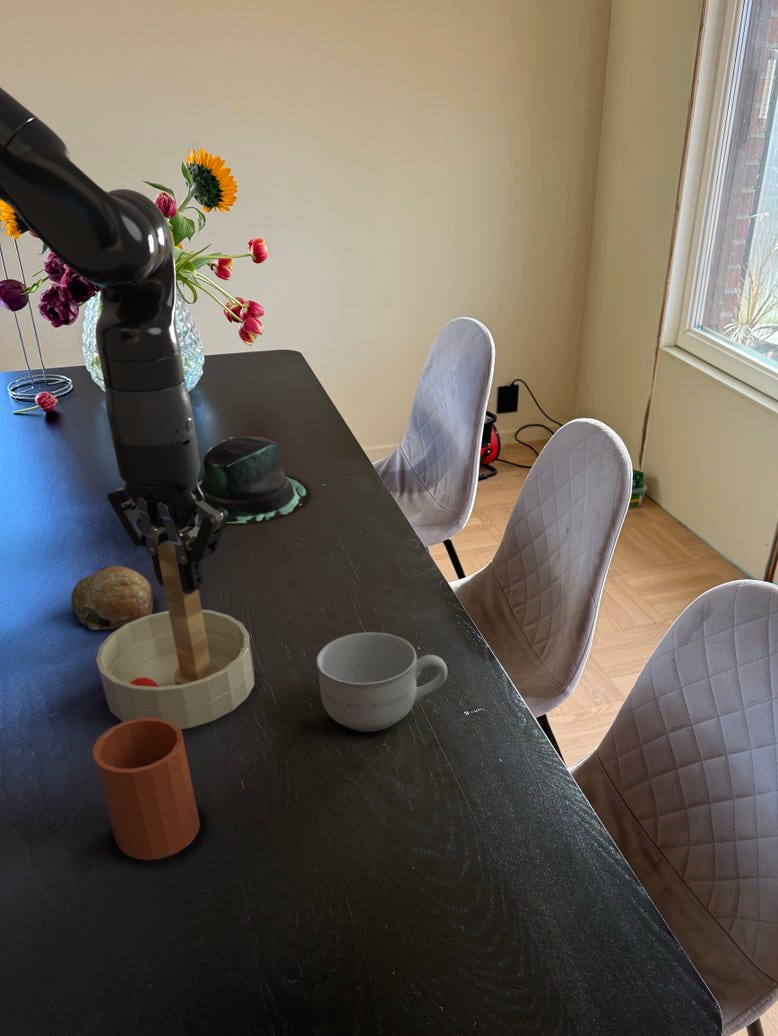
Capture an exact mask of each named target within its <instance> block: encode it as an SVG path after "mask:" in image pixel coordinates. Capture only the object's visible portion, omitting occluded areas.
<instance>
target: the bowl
mask: <svg viewBox="0 0 778 1036" xmlns="http://www.w3.org/2000/svg"><path fill="white" fill-rule="evenodd" d="M202 615H203V621H204V627H205V633H206V639H207V645H208V651H209V657H210V662H212V663H214V664H215V665H216V666H217V667H218V670H219V672H217V673H215V674H212V675H210V676H208V677H206V678H204V679H201V680H197V681H193V682H190V683H186V684H182V685H176V684H175V679H174V673H175V671H176V670H177V669H178V668H179V663H178V657H177V652H176V647H175V641H174V636H173V631H172V625H171V620H170V615H169V610H165V611H161V612H156V613H152V614H151V615H147V616H144V617H142V618H139V619H137V620H135V621H132V622H130V623H127V624H125V625H124V626H122V627H121V628H117V629H115V631H113V632H112V633H110V634H108V636H107V637H106V638H105V640H104V641H103V642H102V643H101V644H100V646H98V650H97V655H96V659H95V662H96V666H97V670H98V674H99V678H100V682H101V686H102V690H103V694H104V698H105V701H106V704H107V707H108V709H109V712H110V713H111V714H113V715H114V716H115V717H116V718H117V719H118V720H120V722H121V723H123V722H125V721H128V720H133V719H138V718H143V717H144V718H145V717H149V718H162V719H165V720H168V721H171V722H173V723H175V724H176V725H177V726H178V727H179V728H180V729H181V730H185V729H191V728H195V727H198V726H201V725H205V724H208V723H211V722H214V721H216V720H217V719H219V718H222V717H223V716H225V715H227V714H229V713H231V712H233V711H235V710H236V708H238V707H239V706H240V705H242V704H243V702H245V701H246V700H247V698H248V697H249V695H250V693H251V692H252V690H253V688H254V686H255V667H254V659H253V651H252V645H251V638H250V637H251V636H250V633H249V632H248V630H247V629H246V627H245V625H244V624H243V623H242V622H241V621H239V620H237V619H235V618H234V617H232V616H231V615H228V614H226V613H223V612H219V611H216V610H215V611H214V610H211V609H202ZM137 678H149V679H151V680H153V681H154V682H156V684H157V685H158V687H150V686H138V685H133V684H130V682H132V681H133V680H135V679H137Z"/></svg>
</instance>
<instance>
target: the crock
mask: <svg viewBox="0 0 778 1036" xmlns="http://www.w3.org/2000/svg"><path fill="white" fill-rule="evenodd" d="M92 760H93V764H94V767H95V771H96V775H97V778H98V781H99V785H100V789H101V793H102V797H103V801H104V803H105V807H106V811H107V814H108V818H109V822H110V825H111V828H112V833H113V837H114V840H115V844H116V846H117V848H118V849H119V850H120V851H121V852H122V853H123V854H124V855H126V856H128V857H130V858H133V859H136V860H142V861H153V860H159V859H160V860H161V859H164V858H168V857H170V856H172V855H174V854H177V853H179V852H181V851H182V850H184V849H185V848H186V847H188V846H189V845H190V844H191V843H192V842H193V841H194V839H195V838H196V836H198V835H197V834H198V832H199V831H200V830H199V829H200V827H201V821H200V816H199V815H200V814H199V811H198V806H197V800H196V794H195V791H194V785H193V780H192V775H191V770H190V764H189V761H188V760H189V759H188V755H187V750H186V745H185V740H184V736H183V730H182V729H180V728H179V727H178V726H177V725H176V724H175V723H173V722H171V721H168V720H165V719H162V718H149V717H145V718H144V717H143V718H138V719H133V720H128V721H125V722H120V723H118V724H116V725H114V726H112V727H110V728H109V729H107V730H106V731H104V732H103V733H102V734H101V735H100V736H98V738H97V739H96V741H95V742H94V744H93V746H92Z"/></svg>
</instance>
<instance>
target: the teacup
mask: <svg viewBox="0 0 778 1036" xmlns="http://www.w3.org/2000/svg"><path fill="white" fill-rule="evenodd" d="M315 660H316V661H315V662H316V663H315V665H316V668H317V671H318V684H319V691H320V697H321V702H322V705H323V708H324V710H325V712H326V713H327V715H329V717H330V718H331V719H332V720H333V721H335V722H336V723H338V724H339V725H341V726H344V727H346V728H348V729H350V730H354V731H358V732H363V733H364V732H367V733H369V732H370V733H371V732H378V731H382V730H385V729H388V728H390V727H392V726H393V725H395V724H396V723H398V722H400V721H401V720H403V719H404V718H405V717H406V716H407V715H408V714H409V713H410V711H412V709H413V706H414V703H418V702H420V701H421V700H422V699H423V697H425V696H427V695H429V694H431V693H433V692H435V691H436V690H438V689H439V688H441V687H442V686H443V685H444V684H445V682H446V680H447V676H448V667H447V665H446V662H445V660H444V659H442V658H441V657H439V656H437V655H434V654H426V655H424V656H421V657H419V658H418V657H417V652H416V649H415V648H414V647H413V645H412V644H411V643H410V642H409V641H408V640H406V639H405V638H402V637H400V636H397V635H394V634H390V633H385V632H376V631H375V632H374V631H367V632H357V633H352V634H347V635H344V636H340V637H338V638H336V639H334V640H332V641H330V642H329V643H327V644H325V645H324V647H322V648H321V650H319V652H318V654H317V655H316V659H315ZM426 667H435V668H436V669H437V671H438V674H437V676H436V677H435V678H433V679H432V680H430V681H429V682H427V683H426V684H423V685H419V686H417V679H419V677H420V675H421V672H422V671H423V669H424V668H426Z"/></svg>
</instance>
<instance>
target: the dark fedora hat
mask: <svg viewBox="0 0 778 1036" xmlns="http://www.w3.org/2000/svg"><path fill="white" fill-rule="evenodd" d="M202 467H203V468H202V469H203V478H202V480H200V481H198V485H199V488H200V490H201V491H202V493H203V495H204V502H205V503H207V504H208V505H209V506H211V507H212V508H213V509H215V510H217V509H219V508H223V509H225V510H226V511H227V513H228V518H235V519H236V520H237V521H226V523H225V524H248V522H247V521H250V520H251V519H252V518H256V519H255V520H256V522H260V521H262V520H263V518H264V517H265V520H269V519H270V518H271V517H274V516H275V513H277V512H280V513H279V514H281V515H288V514H289V513H292V512H293V510H294V508H295V507H296V506H297V505H298V504H299V507H301V506H302V505H303V503H300V501H299V500H300V499H301V497H304V496H306V495H307V491H306V489H305V487H304V485H302V484H301V483H300V482H298V481H297V480H295V479H292V478H290V477H289V476H286V473H285V470H284V467H283V466H282V463H281V457H280V445H279V443H278V442H276V441H273V440H271V439H269V438H266V437H259V436H237V437H236V436H233V437H229V438H228V439H227V440H226V439H222V440H221V443H218V444H216V445H213V446H211V447H210V448H209V449H208V450H207V451H206V453H205V454H204V456H203V458H202ZM296 489H297V490H296ZM298 493H299V494H298ZM197 517H198V514H197Z"/></svg>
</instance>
